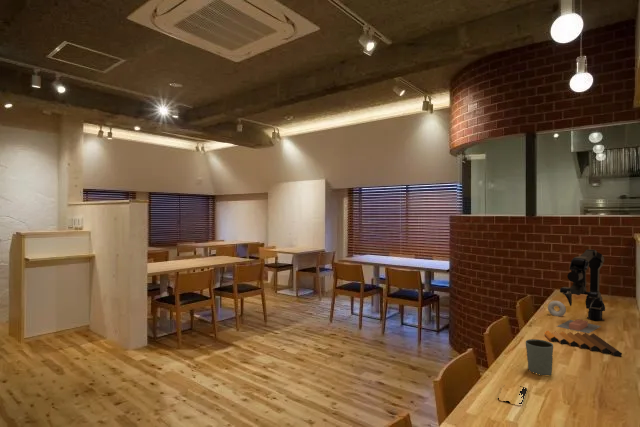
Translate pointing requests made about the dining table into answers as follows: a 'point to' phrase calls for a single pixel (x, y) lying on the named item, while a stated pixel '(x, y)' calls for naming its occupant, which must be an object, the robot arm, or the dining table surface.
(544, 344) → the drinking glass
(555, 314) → the donut
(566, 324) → the mat
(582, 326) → the tall box
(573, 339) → the pan flute
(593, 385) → the dining table surface
